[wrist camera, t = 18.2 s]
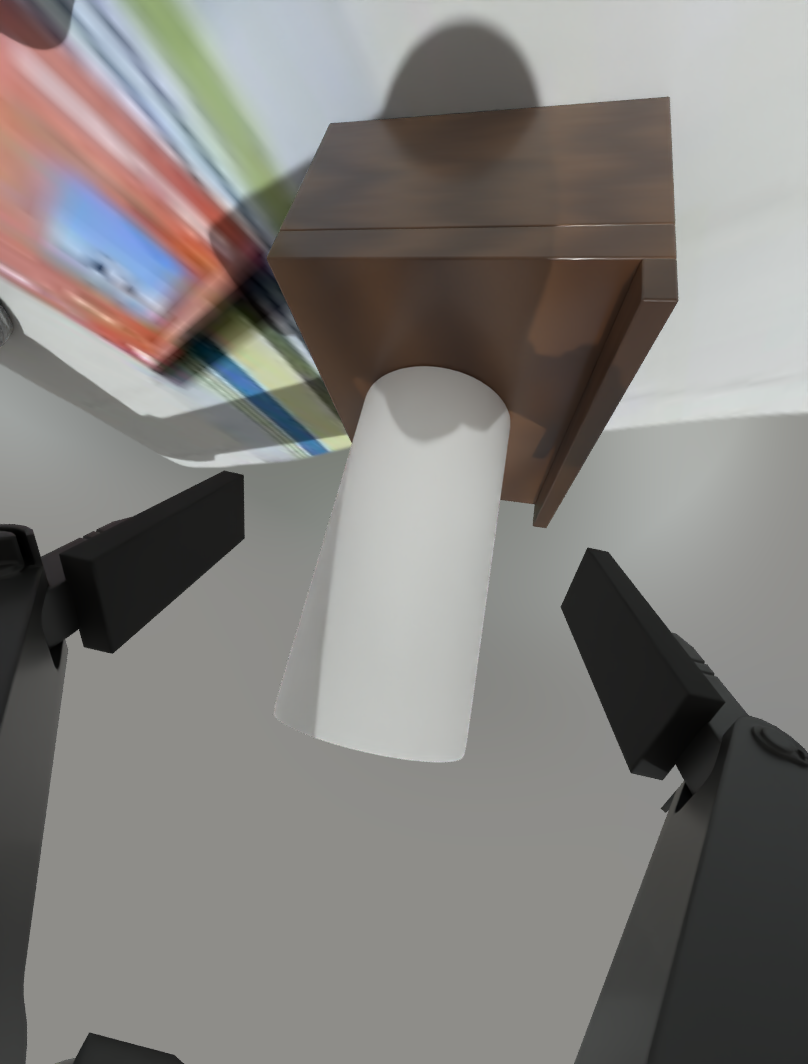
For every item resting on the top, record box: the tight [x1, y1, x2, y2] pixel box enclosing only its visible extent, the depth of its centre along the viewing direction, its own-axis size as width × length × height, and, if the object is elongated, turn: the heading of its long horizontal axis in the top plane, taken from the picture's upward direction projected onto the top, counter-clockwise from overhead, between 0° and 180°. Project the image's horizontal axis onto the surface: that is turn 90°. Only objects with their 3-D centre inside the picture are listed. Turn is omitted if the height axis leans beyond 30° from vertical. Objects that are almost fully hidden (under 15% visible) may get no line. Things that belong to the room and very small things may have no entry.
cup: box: [274, 366, 510, 762], centre depth 19 cm, size 8×8×16 cm
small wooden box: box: [267, 97, 678, 528], centre depth 22 cm, size 14×18×11 cm
